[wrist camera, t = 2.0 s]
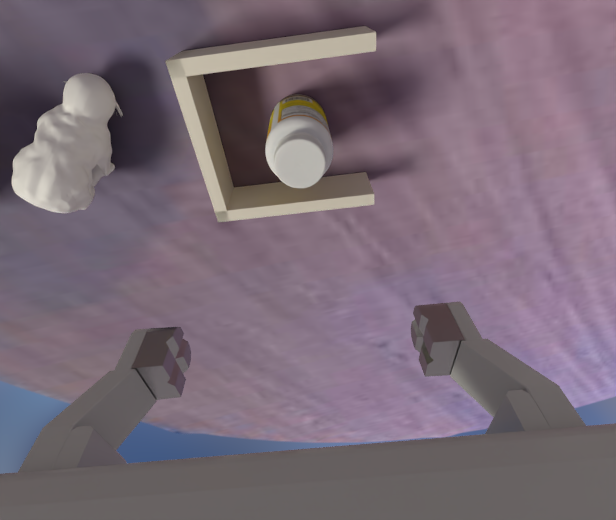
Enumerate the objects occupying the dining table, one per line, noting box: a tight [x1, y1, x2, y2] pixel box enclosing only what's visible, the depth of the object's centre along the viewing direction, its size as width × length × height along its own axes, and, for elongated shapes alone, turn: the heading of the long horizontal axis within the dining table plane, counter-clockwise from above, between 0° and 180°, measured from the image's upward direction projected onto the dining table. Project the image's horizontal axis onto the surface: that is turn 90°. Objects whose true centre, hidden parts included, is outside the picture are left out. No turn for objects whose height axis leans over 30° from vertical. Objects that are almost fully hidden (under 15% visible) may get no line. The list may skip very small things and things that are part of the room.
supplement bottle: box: [265, 94, 333, 188], centre depth 29 cm, size 6×6×10 cm
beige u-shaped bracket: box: [165, 26, 376, 222], centre depth 32 cm, size 16×14×5 cm
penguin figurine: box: [12, 73, 123, 213], centre depth 30 cm, size 6×8×12 cm
